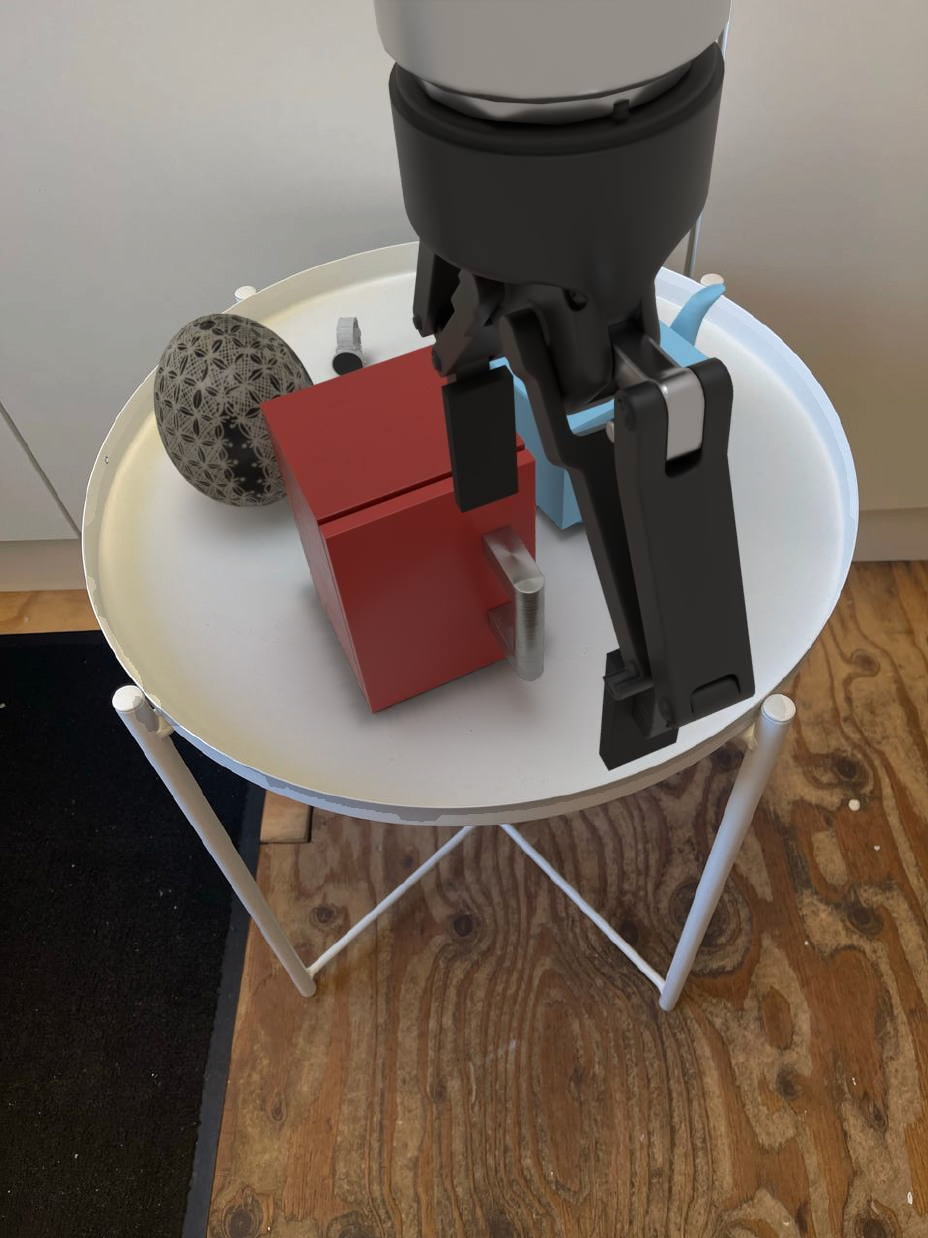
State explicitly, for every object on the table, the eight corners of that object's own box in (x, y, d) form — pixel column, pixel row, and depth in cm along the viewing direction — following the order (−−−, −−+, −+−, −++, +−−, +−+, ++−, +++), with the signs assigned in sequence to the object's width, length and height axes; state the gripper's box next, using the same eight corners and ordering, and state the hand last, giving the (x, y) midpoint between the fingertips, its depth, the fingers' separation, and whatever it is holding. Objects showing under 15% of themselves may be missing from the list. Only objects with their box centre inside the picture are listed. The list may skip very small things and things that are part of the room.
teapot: (583, 566, 70) (592, 435, 59) (464, 443, 78) (454, 308, 67) (769, 460, 75) (808, 321, 64) (640, 355, 83) (655, 216, 72)
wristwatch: (336, 391, 82) (326, 343, 78) (340, 353, 85) (330, 305, 81) (370, 389, 82) (361, 341, 78) (373, 351, 85) (365, 303, 81)
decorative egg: (197, 557, 72) (128, 405, 60) (181, 451, 79) (117, 295, 67) (349, 519, 74) (312, 363, 62) (321, 418, 80) (283, 259, 68)
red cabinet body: (527, 633, 67) (525, 442, 52) (366, 700, 64) (316, 520, 50) (467, 534, 72) (450, 337, 57) (316, 593, 70) (258, 402, 55)
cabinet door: (569, 701, 63) (580, 521, 49) (400, 774, 61) (358, 608, 46) (529, 634, 66) (527, 447, 52) (366, 701, 64) (318, 525, 50)
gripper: (1128, 297, 15) (821, 844, 32) (486, -156, 29) (512, 392, 46) (698, 456, 14) (618, 936, 31) (245, -99, 28) (364, 443, 45)
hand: (554, 611), depth 38 cm, fingers open, 13 cm apart
